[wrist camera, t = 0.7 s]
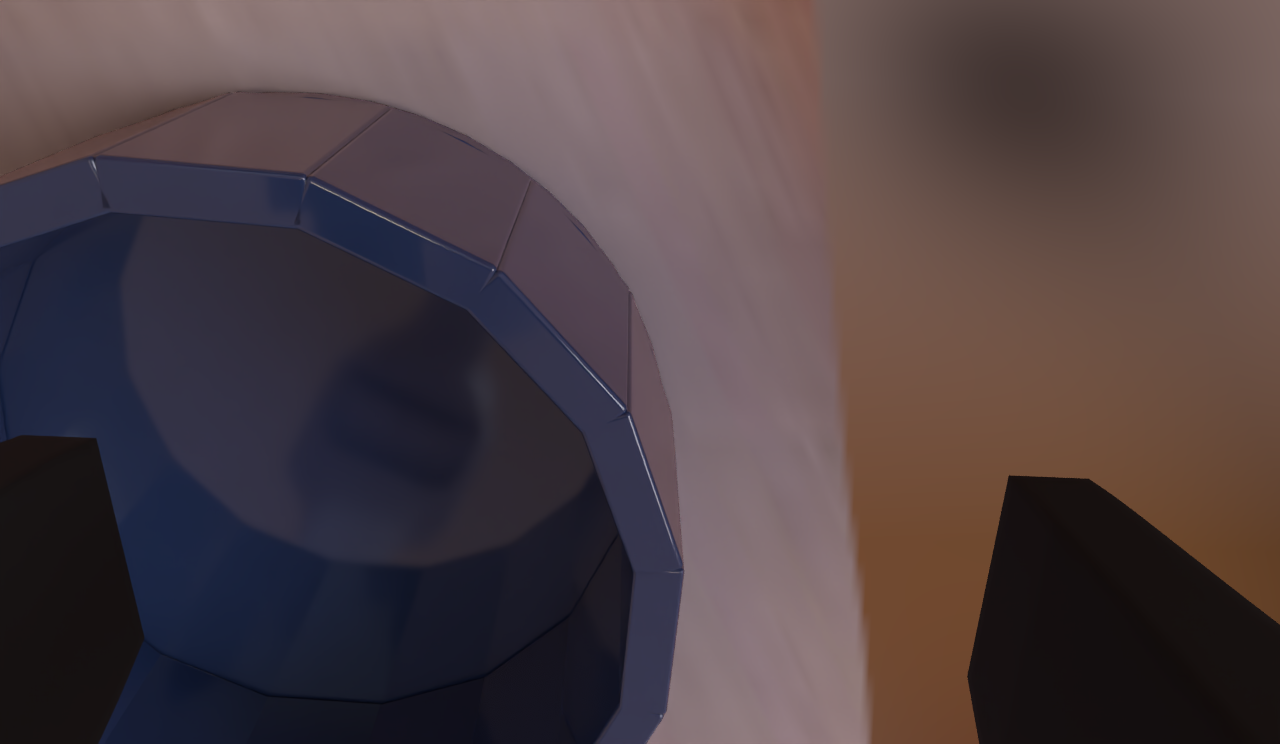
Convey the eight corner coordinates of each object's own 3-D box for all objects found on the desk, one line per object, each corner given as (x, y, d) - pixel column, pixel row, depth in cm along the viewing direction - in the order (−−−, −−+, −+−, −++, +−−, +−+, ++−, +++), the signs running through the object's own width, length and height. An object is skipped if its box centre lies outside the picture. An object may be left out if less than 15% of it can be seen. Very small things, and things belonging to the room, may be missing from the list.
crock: (22, 688, 22) (-157, 916, 17) (-71, 56, 18) (-355, 114, 13) (634, 731, 23) (635, 965, 18) (703, 127, 18) (729, 211, 13)
